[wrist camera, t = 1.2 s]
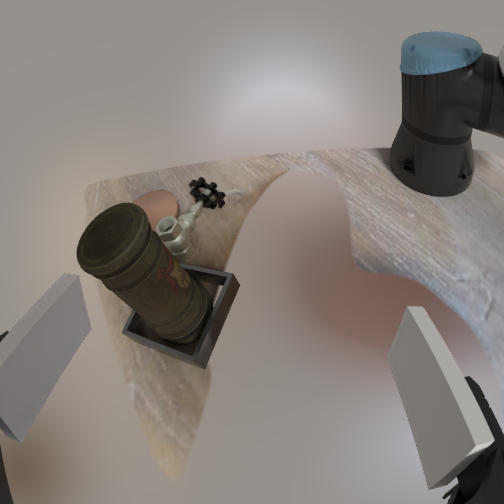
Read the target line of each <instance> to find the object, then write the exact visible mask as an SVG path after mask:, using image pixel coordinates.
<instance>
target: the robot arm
mask: <svg viewBox="0 0 504 504" xmlns="http://www.w3.org/2000/svg"><path fill="white" fill-rule="evenodd" d="M482 52H483V50H482V48H481V45H480V44H479V43H478V42H477V41H476V40H474V39H472V38H470V37H465V36H464V35H461V34H456V33H450V32H423V33H418V34H414V35H412V36H410V37H408V38H406V40H404V42H403V44H402V47H401V65H400V70H401V74H402V123H401V125H400V128H399V130H398V132H397V135H396V137H395V139H394V141H393V144H392V147H391V155H390V163H391V167H392V170H393V172H394V173H395V175H396V176H397V177H398V178H399V179H400V180H401V181H402V182H403V183H404V184H406V185H407V186H409V187H410V188H412V189H414V190H416V191H418V192H421V193H424V194H427V195H432V196H440V197H446V196H453V195H457V194H459V193H461V192H463V191H465V190H466V189H467V188H468V187H469V185H470V183H471V180H472V177H473V173H474V158H473V150H472V144H471V134H472V128H474V129H477V130H481V131H484V132H487V133H490V134H493V135H496V136H498V137H501V138H504V46H503V48H502V49H501V51H500V54H499V57H496V56H493V55H489V54H486V53H482ZM90 330H91V325H90V321H89V317H88V313H87V310H86V305H85V301H84V297H83V292H82V288H81V283H80V278H79V276H78V275H72V274H64V275H63V276H62V277H61V278H59V279H58V281H57V282H55V284H54V285H53V286H52V287H51V288H50V289H49V290H48V291H47V292H46V293H45V294H44V295H43V296H42V297H41V298H40V299H39V300H38V301H37V302H36V303H35V304H34V305H33V306H32V307H31V308H30V310H29V311H28V312H27V313H26V314H25V315H24V316H23V317H22V318H21V320H19V322H18V323H17V324H16V325H15V326H14V327H13V328H12V330H11V331H10V332H8V331H6V332H5V333H3V334H2V335H0V428H1V430H2V431H3V432H4V434H5V435H6V436H8V437H10V438H11V439H14V440H16V441H17V442H19V443H22V442H23V440H24V438H25V436H26V434H27V433H28V431H29V429H30V427H31V425H32V424H33V422H34V420H35V418H36V416H37V415H38V413H39V411H40V409H41V408H42V406H43V404H44V403H45V401H46V399H47V397H48V396H49V394H50V392H51V391H52V389H53V388H54V386H55V384H56V383H57V381H58V379H59V377H60V376H61V375H62V373H63V371H64V370H65V368H66V366H67V365H68V363H69V362H70V360H71V359H72V357H73V356H74V354H75V352H76V351H77V349H78V348H79V346H80V345H81V343H82V342H83V340H84V339H85V337H86V336H87V334H88V333H89V331H90ZM386 358H387V360H388V363H389V366H390V368H391V371H392V374H393V377H394V379H395V382H396V385H397V387H398V391H399V394H400V396H401V399H402V402H403V405H404V408H405V411H406V414H407V417H408V420H409V424H410V427H411V430H412V433H413V436H414V439H415V443H416V446H417V450H418V453H419V456H420V460H421V463H422V467H423V471H424V474H425V478H426V482H427V485H428V489H429V490H430V489H434V488H438V487H441V486H445V485H448V484H449V483H450V482H451V481H452V480H453V479H455V478H456V477H457V479H458V482H459V483H458V484H457V485H456V486H454V487H453V488H452V489H451V490H450V491H448V492H447V493H446V494H445V495H444V496H443V499H445V498H447V497H448V496H449V495H451V497H450V499H449V500H448V503H447V504H504V434H503V432H502V430H501V428H500V426H499V424H498V422H497V420H496V418H495V416H494V414H493V412H492V409H491V408H489V404H488V402H487V400H486V399H485V396H484V394H483V392H482V390H481V388H480V386H479V385H478V384H477V383H476V382H475V381H474V380H473V379H472V378H471V377H469V376H468V377H464V376H463V374H462V372H461V370H460V369H459V367H458V365H457V363H456V361H455V360H454V358H453V356H452V354H451V353H450V351H449V349H448V347H447V346H446V344H445V342H444V340H443V339H442V337H441V335H440V334H439V332H438V331H437V329H436V327H435V326H434V324H433V322H432V320H431V319H430V317H429V316H428V314H427V313H426V311H425V309H424V308H423V307H417V306H416V307H415V306H407V308H406V310H405V313H404V316H403V318H402V321H401V324H400V326H399V329H398V331H397V334H396V336H395V338H394V341H393V344H392V346H391V348H390V350H389V353H388V355H387V357H386ZM0 504H13V500H12V497H11V493H10V489H9V485H8V481H7V477H6V473H5V468H4V463H3V458H2V453H1V447H0Z"/></svg>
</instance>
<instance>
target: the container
mask: <svg viewBox="0 0 504 504" xmlns="http://www.w3.org/2000/svg"><path fill="white" fill-rule="evenodd" d="M77 260H78V262H79V265H80V266H81V268H82V269H83V270H84V271H85V272H86V273H88V274H90V275H93V276H94V277H96V278H98V279H100V280H101V281H102V282H103V284H104V285H105V287H106V288H107V289H109V290H111V291H113V292H114V293H115V294H116V295H117V296H118V297H119V298H120V299H122V300H123V301H124V302H125V303H126V304H127V305H129V306H130V307H131V308H132V309H133V310H135V311H136V312H137V313H138V314H139V315H140V316H142V318H143V319H144V321H145V322H146V323H148V324H149V325H151V327H152V328H153V330H154V331H155V332H156V333H157V334H158V335H159V336H160V337H161V338H162V339H163V340H165V341H166V342H168V343H171V344H174V345H186V344H189V343H191V342H193V341H195V340H197V339H198V338H199V337H200V336H202V333H203V331H204V329H205V326H206V324H207V322H208V320H209V317H210V315H211V313H212V310H213V303H212V299H211V297H210V295H209V293H208V292H207V290H206V289H204V288H203V287H202V286H201V285H200V284H199V283H198V282H197V281H195V280H193V278H192V277H191V275H190V274H189V273H187V272H186V271H185V270H184V269H183V268H182V266H181V265H180V264H179V263H178V261H177V260H176V259H175V258H174V256H173V255H172V254H171V252H170V251H169V250H168V249H167V247H166V246H165V245H164V243H163V242H162V240H161V238H160V236H159V235H158V234H157V233H156V232H155V231H153V230H152V228H151V224H150V222H149V221H148V217H147V214H146V212H145V211H144V210H143V209H142V208H141V207H140V206H138V205H136V204H133V203H121V204H118V205H115V206H112V207H110V208H108V209H107V210H105V211H103V212H102V213H101V214H99V215H98V216H97V217H96V218H95V219H94V220H93V221H92V222H91V223H90V224H89V225H88V227H87V228H86V229H85V231H84V233H83V234H82V236H81V238H80V240H79V244H78V247H77Z"/></svg>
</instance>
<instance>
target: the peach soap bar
mask: <svg viewBox="0 0 504 504" xmlns="http://www.w3.org/2000/svg"><path fill="white" fill-rule="evenodd" d="M133 204H136V205H138V206H140V207H141V208H142V209H143V210H144V211H145V212H146V214H147V217H148V221H149V222H150V224H151V228H152V230H153V231H155V232H156V233H157V231H156V230H155V228H156V226H157V224H158V223H159V221H160V220H161V219H163V218H165V217H167V216H174V217H175V218H176V220H177V218H178V215H179V204H178V202H177V200H176V199H175V197H174V196H173V194H171V193H170V192H168V191H163V190H159V191H153V192H150V193H147V194H145V195H143V196H141V197H140V198H138V199H137V200H135V201H134V202H133ZM157 234H158V233H157Z"/></svg>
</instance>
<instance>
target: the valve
mask: <svg viewBox="0 0 504 504" xmlns="http://www.w3.org/2000/svg"><path fill="white" fill-rule="evenodd" d="M189 186H190V187H191V188H192V186H194V187H195V188H193V189H192V190H191V191H190V194H191V195H192V196H193V197H194V198H195V199H196V200H195V201H196V203H197V204H193V205H192V206H191V207H190V209H189V210H188V213H189V214H186V215H185V214H181V215H180V217H179V218H178V219H177V220H176V218H175V217H174V216H167V217H165V218H163V219H161V220H160V221H159V223H158V224H157V226H156V228H155V230H156V231H157V233H158V235H159V236H160V238H161V239H162V242H163V243H164V245H165V246H166V247H167V249H168V250H169V251H170V252H171V253H173V255H174V256H175V257H176V259H177V260H178V261H181V260H186V259H190V257H191V256H192V254H193V253H194V251H195V249H196V248H195V247H194V245H193V244H192V242H191V241H190V235H189V232H192V231H193V230H194V229H195V227H196V225H197V224H196V222H195V221H196V220H195V218H197V217H198V216H199V215H200V214H201V212H202V209H201V207H205V208H210V209H215V207H216V206H217V203H218V204H219V206H218V207H219V208H222V207H223V206H224V204H225V201H224V200H223V199H224V197H225V193H223V192H218V191H217V190H216V188H217V184H216V183H214V182H211V184H210V185H209V184H207V183H206V182H205V179H204V178H202V177H200V178H199V179H198V181H196V180H192V181H191V182H190V184H189ZM200 187H203V188H206V189H205V190H203V191H202V192H200V189H199V188H200ZM207 189H208V190H207ZM209 190H210V191H211V192H210V191H209ZM213 194H214V196H215V198H216V199H215V200H212V199H211V197H212V196H213Z"/></svg>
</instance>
